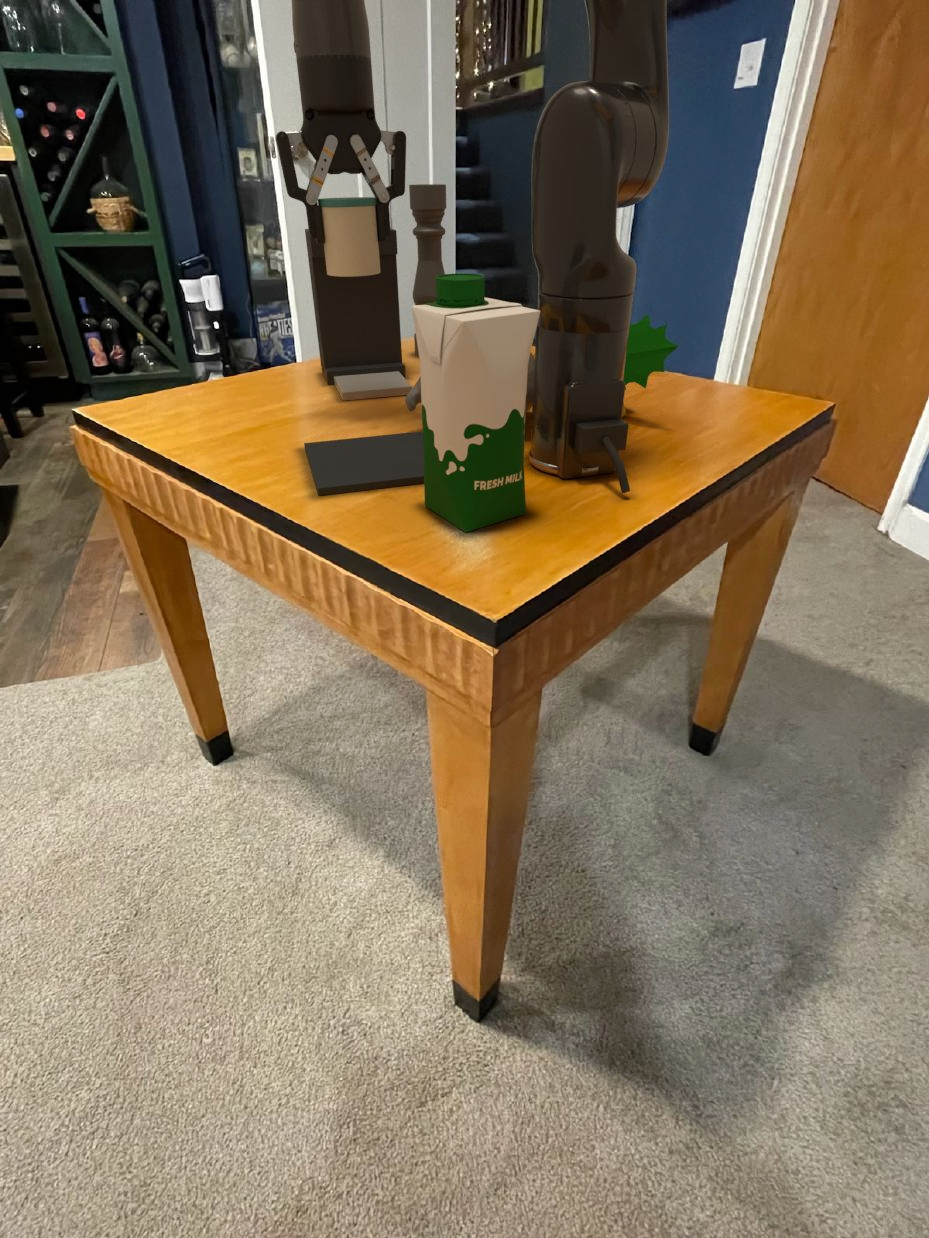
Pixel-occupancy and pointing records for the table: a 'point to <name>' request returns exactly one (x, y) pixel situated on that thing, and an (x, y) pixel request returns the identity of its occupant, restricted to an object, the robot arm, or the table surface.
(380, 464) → the mat
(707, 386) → the table surface
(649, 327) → the ornament
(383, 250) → the coffee maker
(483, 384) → the fresh milk carton
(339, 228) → the container
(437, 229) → the candle holder
